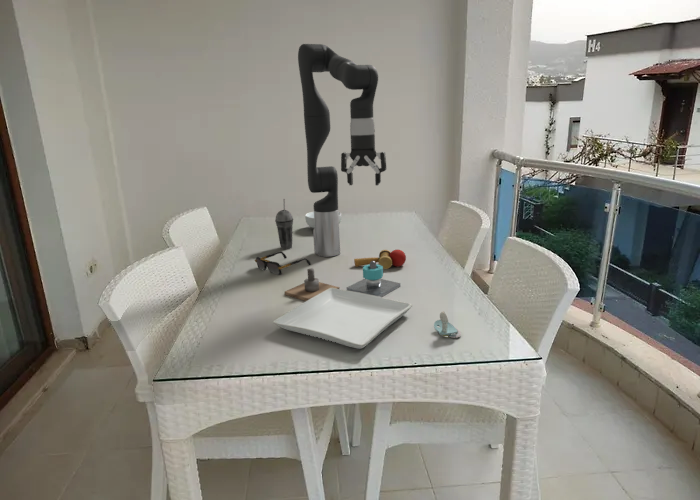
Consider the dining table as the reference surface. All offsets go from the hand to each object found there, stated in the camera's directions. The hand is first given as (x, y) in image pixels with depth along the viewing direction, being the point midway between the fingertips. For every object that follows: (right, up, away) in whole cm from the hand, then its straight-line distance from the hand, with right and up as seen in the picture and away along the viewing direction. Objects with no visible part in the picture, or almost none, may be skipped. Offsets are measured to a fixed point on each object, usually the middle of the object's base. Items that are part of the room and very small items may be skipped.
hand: (364, 185), depth 157 cm
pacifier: (+20, -42, -35) cm, 58 cm away
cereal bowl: (-16, -11, +69) cm, 72 cm away
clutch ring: (+3, -29, -6) cm, 30 cm away
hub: (+3, -33, -5) cm, 33 cm away
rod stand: (-16, -34, -6) cm, 38 cm away
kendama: (+6, -27, +15) cm, 32 cm away
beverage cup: (-30, -20, +42) cm, 56 cm away
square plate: (-6, -41, -27) cm, 49 cm away
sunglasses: (-29, -27, +19) cm, 44 cm away
